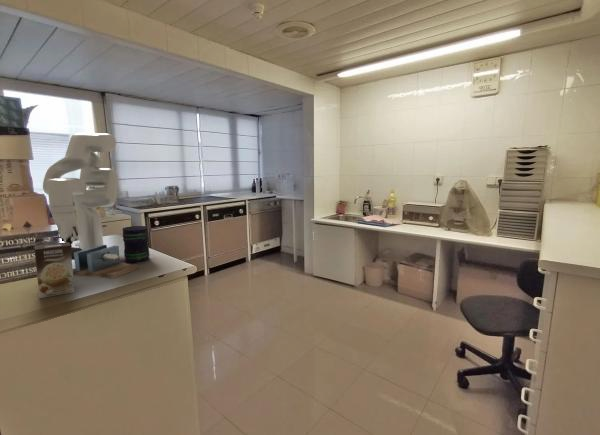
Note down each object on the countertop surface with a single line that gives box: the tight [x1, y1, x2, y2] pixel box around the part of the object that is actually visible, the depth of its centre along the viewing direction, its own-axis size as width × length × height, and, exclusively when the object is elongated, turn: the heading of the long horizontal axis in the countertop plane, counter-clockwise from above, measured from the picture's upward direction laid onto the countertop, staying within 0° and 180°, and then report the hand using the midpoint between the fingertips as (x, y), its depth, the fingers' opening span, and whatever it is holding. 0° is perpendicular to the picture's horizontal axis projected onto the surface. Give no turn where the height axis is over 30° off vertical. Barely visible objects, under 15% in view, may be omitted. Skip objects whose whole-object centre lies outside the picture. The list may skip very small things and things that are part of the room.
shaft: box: [71, 246, 120, 261], centre depth 119 cm, size 22×5×5 cm, turn 78°
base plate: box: [73, 262, 138, 279], centre depth 118 cm, size 20×12×2 cm, turn 78°
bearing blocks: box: [73, 244, 121, 273], centre depth 118 cm, size 8×13×7 cm, turn 168°
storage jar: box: [122, 225, 150, 265], centre depth 131 cm, size 10×10×15 cm
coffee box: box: [33, 242, 76, 299], centre depth 96 cm, size 9×6×16 cm
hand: (67, 253), depth 121 cm, fingers closed
